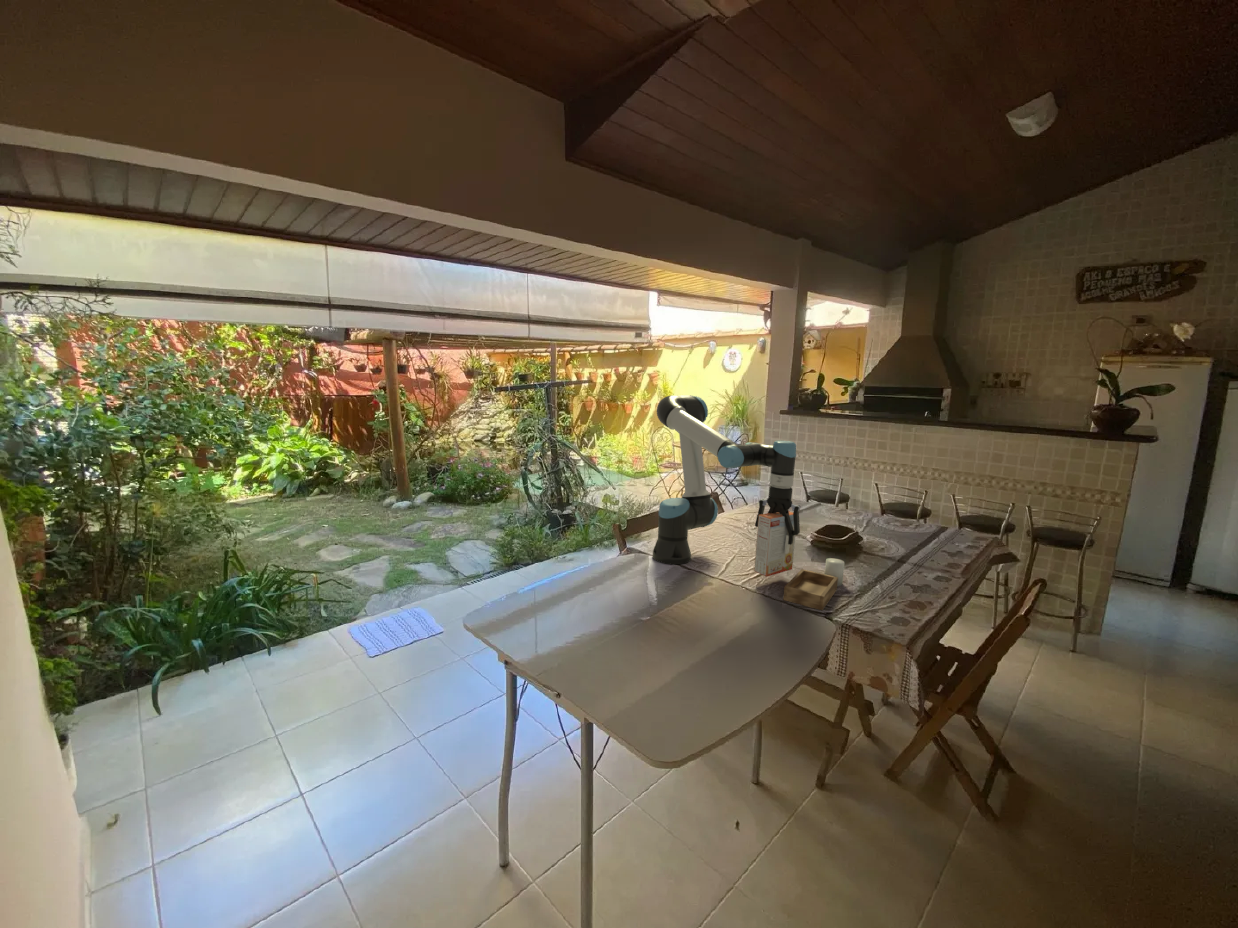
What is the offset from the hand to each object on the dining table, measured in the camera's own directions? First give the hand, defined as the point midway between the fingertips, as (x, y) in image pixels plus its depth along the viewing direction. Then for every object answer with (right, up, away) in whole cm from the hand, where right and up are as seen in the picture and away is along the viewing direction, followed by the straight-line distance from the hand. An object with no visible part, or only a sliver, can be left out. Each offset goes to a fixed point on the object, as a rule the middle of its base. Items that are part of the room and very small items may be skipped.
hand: (774, 549), depth 170 cm
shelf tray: (+9, -13, -9) cm, 18 cm away
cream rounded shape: (+21, -12, +2) cm, 25 cm away
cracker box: (0, -8, +1) cm, 8 cm away
